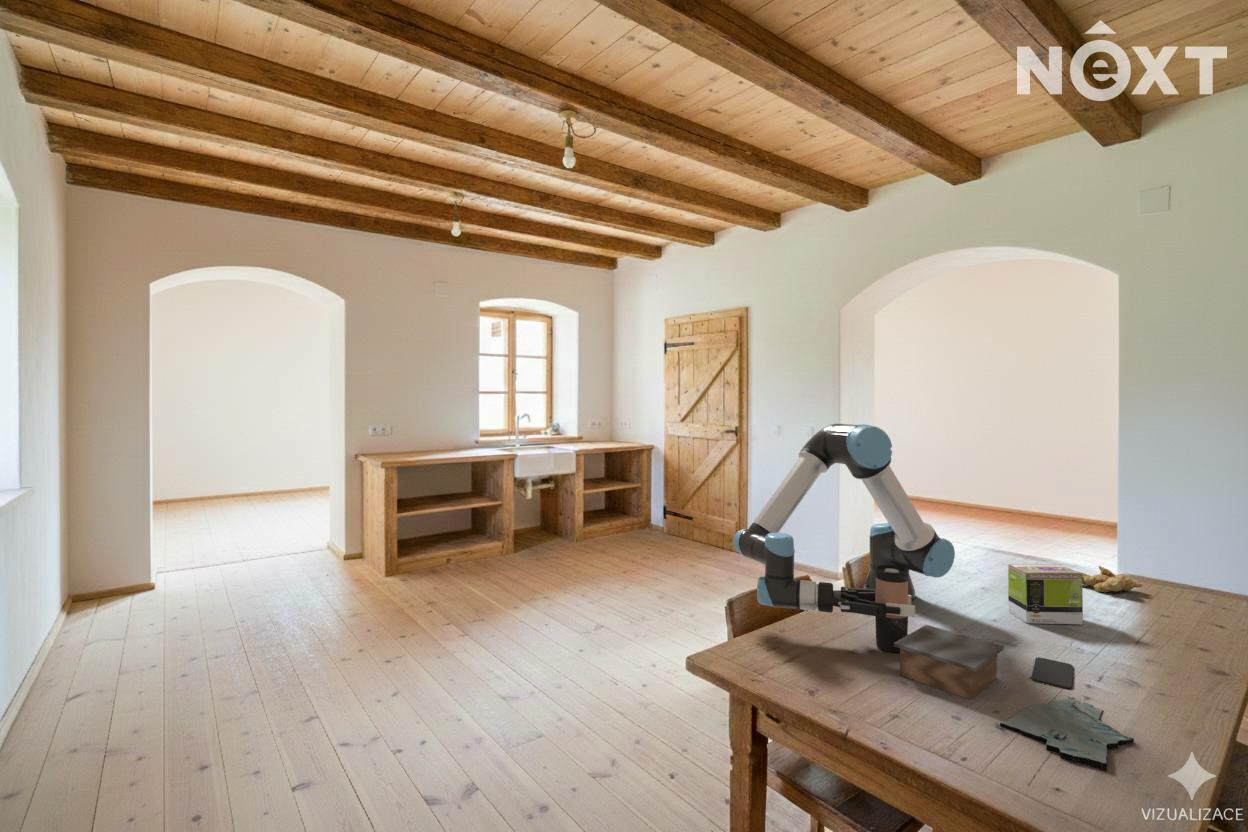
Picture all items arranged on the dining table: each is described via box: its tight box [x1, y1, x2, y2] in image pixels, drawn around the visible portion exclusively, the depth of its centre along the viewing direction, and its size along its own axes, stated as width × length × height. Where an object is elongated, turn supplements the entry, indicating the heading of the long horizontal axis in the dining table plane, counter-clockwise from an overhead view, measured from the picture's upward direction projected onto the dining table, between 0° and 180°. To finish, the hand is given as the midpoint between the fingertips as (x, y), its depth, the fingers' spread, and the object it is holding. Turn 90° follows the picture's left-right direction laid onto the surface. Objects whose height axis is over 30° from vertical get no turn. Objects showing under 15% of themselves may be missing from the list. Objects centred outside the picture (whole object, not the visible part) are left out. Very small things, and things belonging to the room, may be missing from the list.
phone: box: [1031, 657, 1074, 690], centre depth 139 cm, size 7×1×15 cm
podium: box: [894, 624, 1005, 700], centre depth 137 cm, size 17×17×7 cm
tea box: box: [1007, 563, 1084, 626], centre depth 173 cm, size 15×10×15 cm
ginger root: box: [1078, 565, 1144, 594], centre depth 198 cm, size 16×16×8 cm
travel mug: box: [874, 565, 909, 653], centre depth 153 cm, size 8×8×20 cm
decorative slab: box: [999, 696, 1135, 772], centre depth 115 cm, size 26×24×2 cm
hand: (912, 605), depth 151 cm, fingers closed on travel mug, 7 cm apart
